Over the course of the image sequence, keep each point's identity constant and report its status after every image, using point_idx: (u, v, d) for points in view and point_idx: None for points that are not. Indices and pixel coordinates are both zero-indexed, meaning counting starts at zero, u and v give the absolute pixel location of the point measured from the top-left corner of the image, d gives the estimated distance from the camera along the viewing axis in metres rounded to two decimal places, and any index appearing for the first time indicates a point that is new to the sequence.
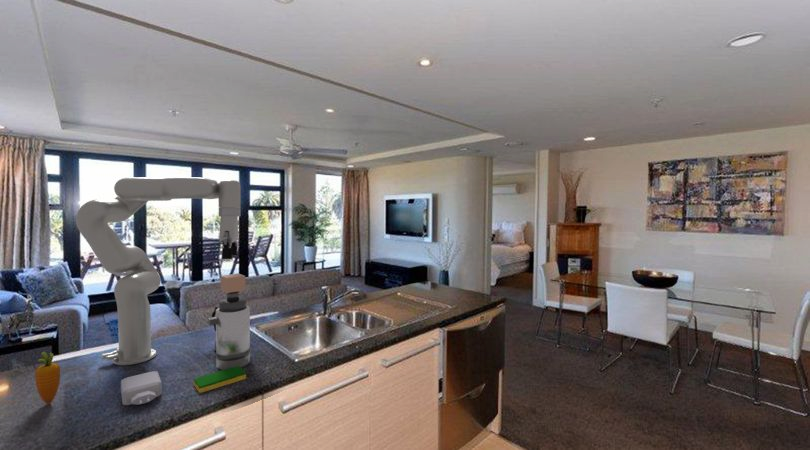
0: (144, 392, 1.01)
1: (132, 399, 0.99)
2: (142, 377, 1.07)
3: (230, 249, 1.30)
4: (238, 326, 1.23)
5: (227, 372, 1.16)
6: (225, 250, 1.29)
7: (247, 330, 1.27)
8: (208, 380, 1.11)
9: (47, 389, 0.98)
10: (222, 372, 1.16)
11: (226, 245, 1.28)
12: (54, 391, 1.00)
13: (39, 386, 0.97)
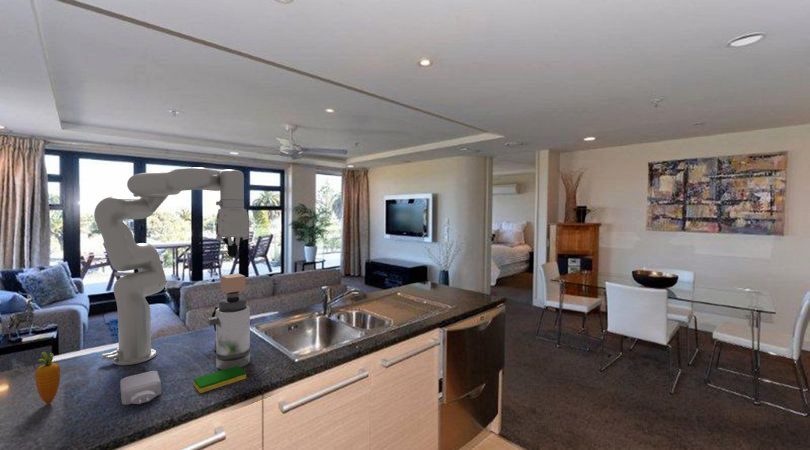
0: (143, 391, 1.01)
1: (131, 398, 0.99)
2: (142, 377, 1.07)
3: None
4: (238, 326, 1.23)
5: (227, 372, 1.16)
6: None
7: (247, 330, 1.27)
8: (208, 380, 1.11)
9: (47, 389, 0.98)
10: (222, 372, 1.16)
11: None
12: (54, 391, 1.00)
13: (39, 386, 0.97)
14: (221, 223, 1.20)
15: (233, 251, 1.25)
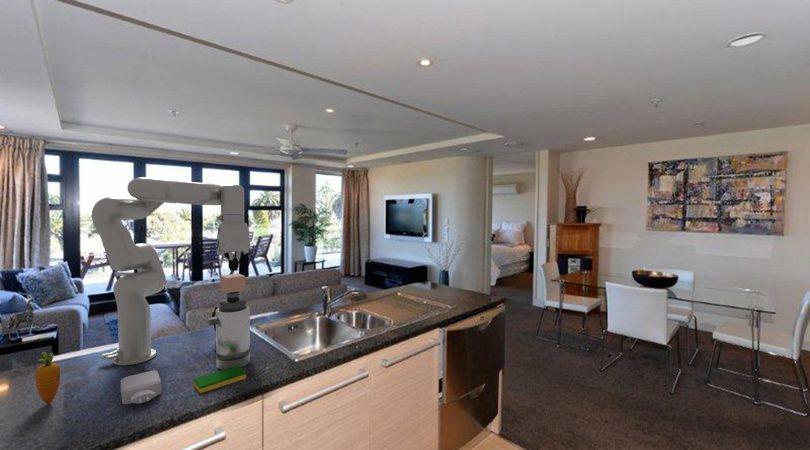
0: (144, 391, 1.02)
1: (132, 398, 0.99)
2: (142, 376, 1.07)
3: None
4: (238, 326, 1.23)
5: (227, 372, 1.17)
6: None
7: (247, 330, 1.27)
8: (208, 380, 1.11)
9: (47, 389, 0.98)
10: (222, 372, 1.16)
11: None
12: (54, 391, 1.00)
13: (39, 386, 0.97)
14: (222, 238, 1.21)
15: (234, 265, 1.25)
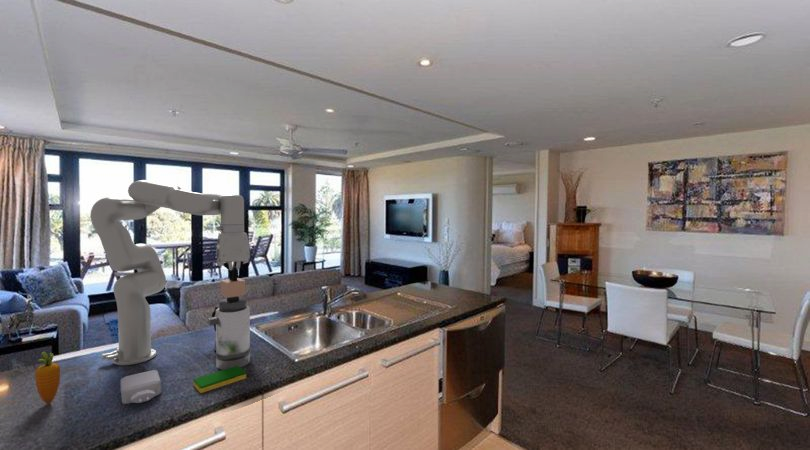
0: (143, 391, 1.02)
1: (131, 397, 0.99)
2: (142, 376, 1.08)
3: None
4: (238, 326, 1.23)
5: (227, 372, 1.17)
6: None
7: (247, 330, 1.27)
8: (208, 380, 1.11)
9: (47, 389, 0.98)
10: (222, 372, 1.16)
11: None
12: (54, 391, 1.00)
13: (39, 386, 0.97)
14: (222, 248, 1.21)
15: (234, 275, 1.25)
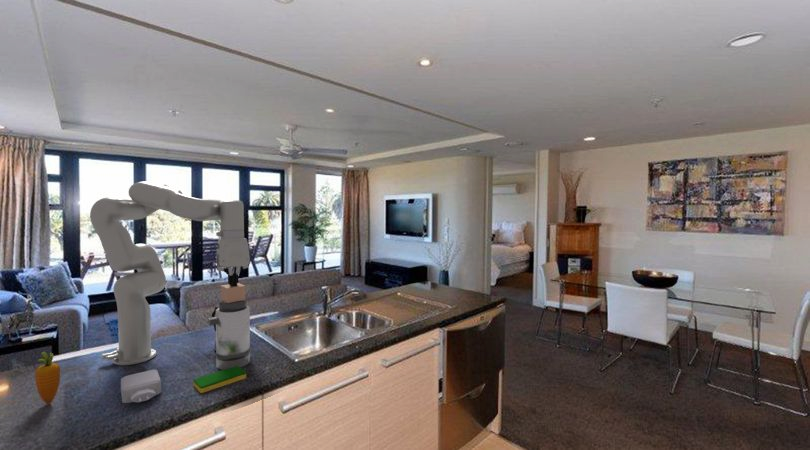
0: (143, 390, 1.02)
1: (132, 397, 1.00)
2: (142, 375, 1.08)
3: None
4: (238, 326, 1.23)
5: (227, 372, 1.17)
6: None
7: (247, 330, 1.27)
8: (208, 380, 1.11)
9: (47, 389, 0.98)
10: (222, 372, 1.16)
11: None
12: (54, 391, 1.00)
13: (39, 386, 0.97)
14: (221, 254, 1.21)
15: (234, 281, 1.25)
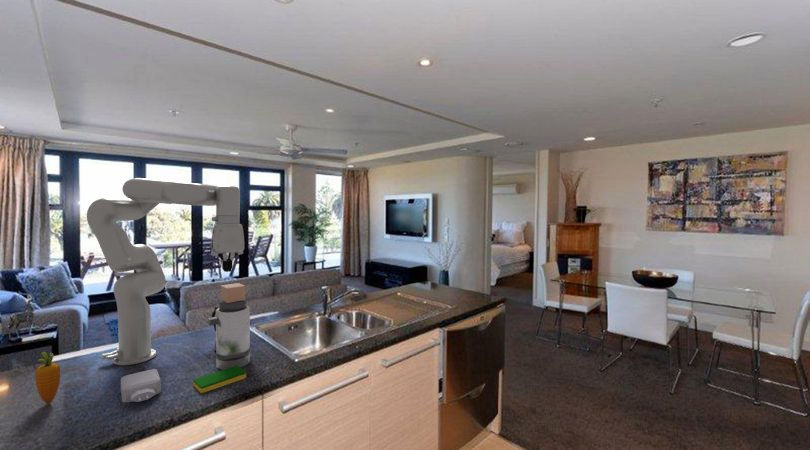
0: (143, 389, 1.02)
1: (131, 396, 1.00)
2: (142, 375, 1.08)
3: None
4: (238, 326, 1.23)
5: (227, 372, 1.17)
6: None
7: (247, 330, 1.27)
8: (209, 380, 1.11)
9: (47, 389, 0.98)
10: (222, 372, 1.16)
11: None
12: (54, 391, 1.00)
13: (39, 386, 0.97)
14: (216, 239, 1.21)
15: (228, 266, 1.26)
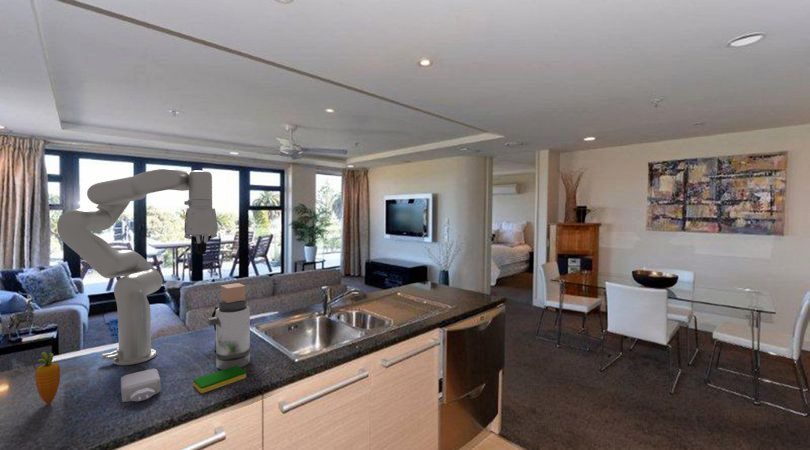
0: (143, 389, 1.03)
1: (131, 396, 1.00)
2: (142, 374, 1.09)
3: None
4: (238, 326, 1.23)
5: (227, 372, 1.17)
6: None
7: (247, 330, 1.27)
8: (209, 380, 1.11)
9: (47, 389, 0.98)
10: (221, 372, 1.16)
11: None
12: (54, 391, 1.00)
13: (39, 386, 0.97)
14: (189, 222, 1.26)
15: (201, 249, 1.30)
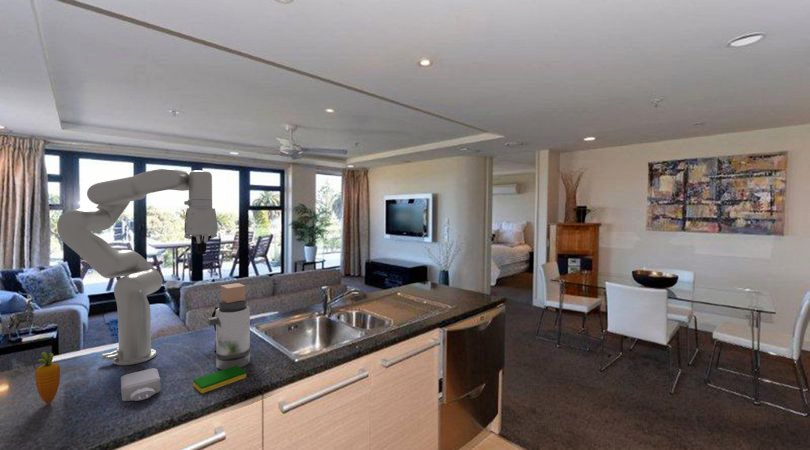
0: (143, 388, 1.03)
1: (131, 395, 1.01)
2: (142, 374, 1.09)
3: None
4: (238, 326, 1.23)
5: (227, 372, 1.17)
6: None
7: (247, 330, 1.27)
8: (209, 380, 1.11)
9: (47, 389, 0.98)
10: (221, 372, 1.16)
11: None
12: (54, 391, 1.00)
13: (39, 386, 0.97)
14: (189, 222, 1.26)
15: (201, 249, 1.30)
